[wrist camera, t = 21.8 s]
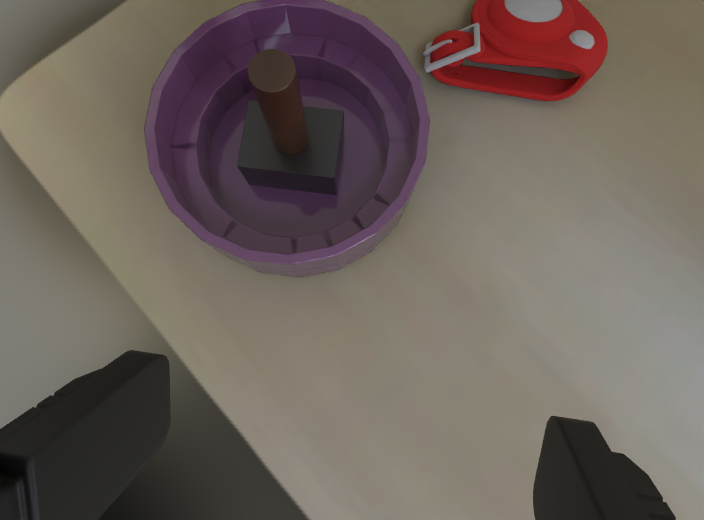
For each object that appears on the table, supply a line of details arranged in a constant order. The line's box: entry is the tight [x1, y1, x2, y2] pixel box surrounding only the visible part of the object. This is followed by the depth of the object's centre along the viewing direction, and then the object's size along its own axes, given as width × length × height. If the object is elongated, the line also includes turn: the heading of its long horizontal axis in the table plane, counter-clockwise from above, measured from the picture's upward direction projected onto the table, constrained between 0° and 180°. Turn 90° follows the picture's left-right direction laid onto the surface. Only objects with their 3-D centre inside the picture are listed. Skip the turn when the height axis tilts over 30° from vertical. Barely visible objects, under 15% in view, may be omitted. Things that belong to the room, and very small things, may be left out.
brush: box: [237, 49, 344, 195], centre depth 27 cm, size 6×4×11 cm
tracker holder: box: [423, 0, 608, 101], centre depth 33 cm, size 12×4×10 cm
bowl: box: [144, 0, 430, 277], centre depth 30 cm, size 16×16×6 cm
